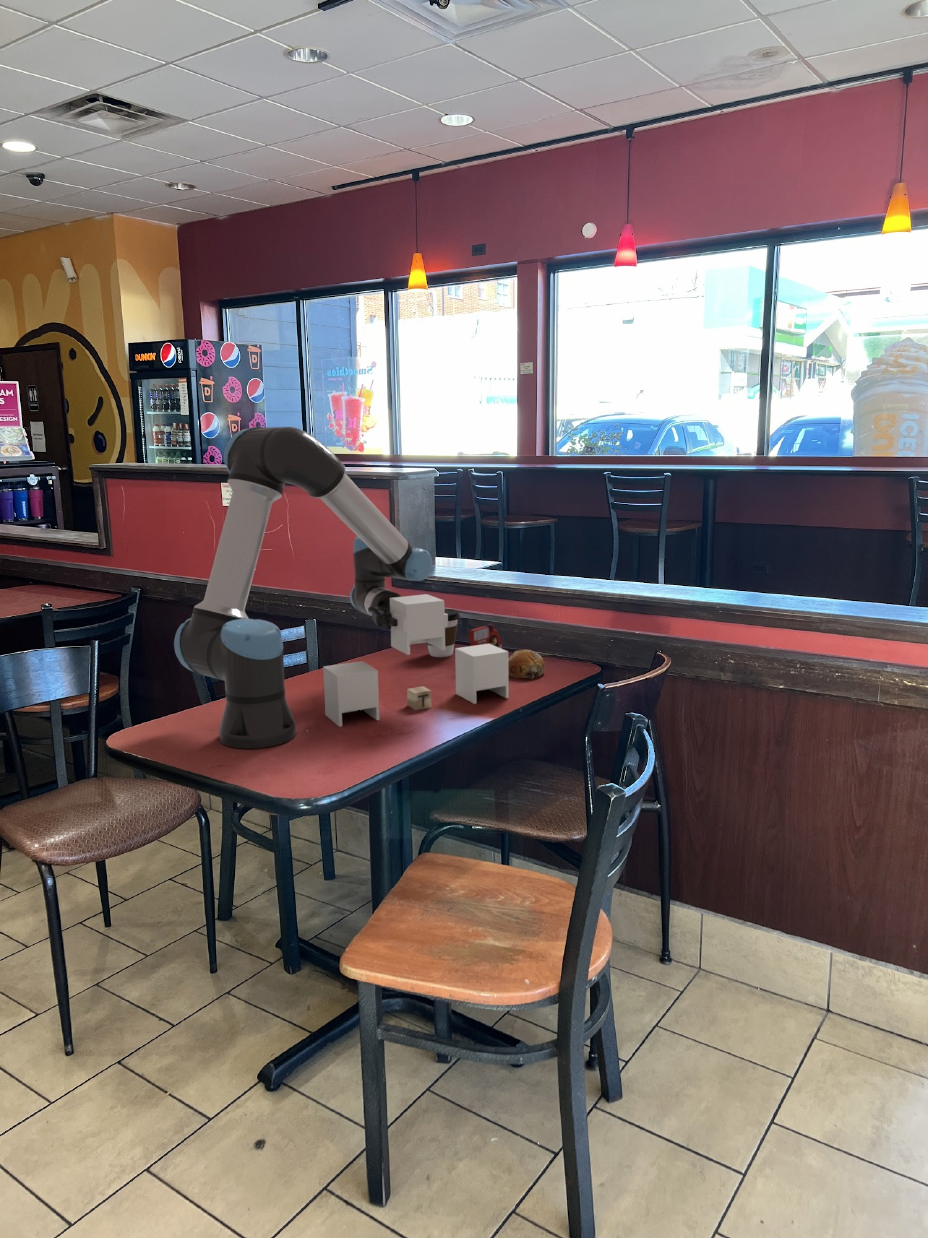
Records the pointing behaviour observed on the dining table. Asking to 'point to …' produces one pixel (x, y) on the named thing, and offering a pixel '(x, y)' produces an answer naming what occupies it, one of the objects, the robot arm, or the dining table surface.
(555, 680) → the dining table surface
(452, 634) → the coffee cup
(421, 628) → the tall off-white cuboid
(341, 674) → the matte white cube
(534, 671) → the bread roll
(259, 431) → the robot arm
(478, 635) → the toy fire truck
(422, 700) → the letter cube
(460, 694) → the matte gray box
